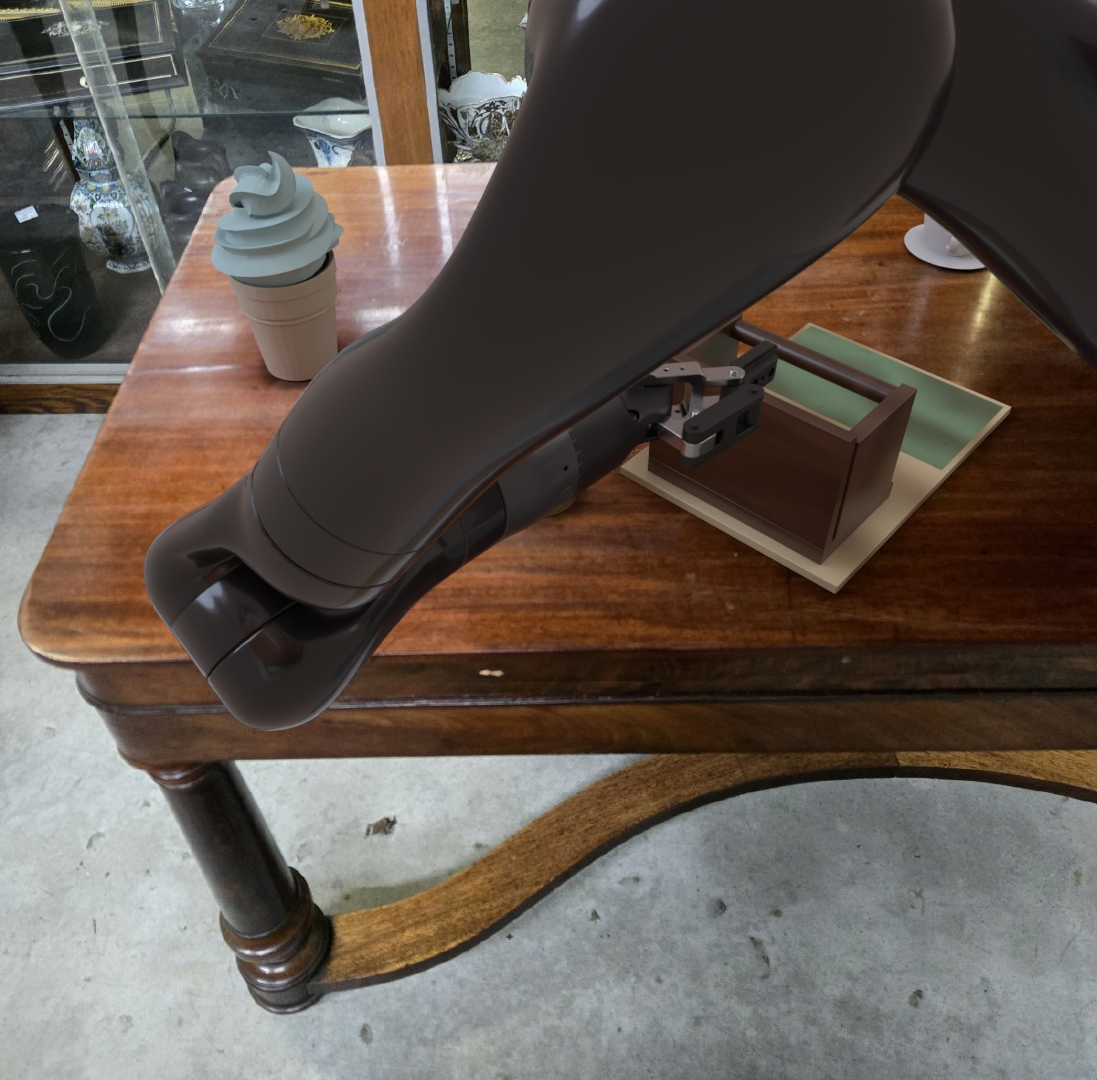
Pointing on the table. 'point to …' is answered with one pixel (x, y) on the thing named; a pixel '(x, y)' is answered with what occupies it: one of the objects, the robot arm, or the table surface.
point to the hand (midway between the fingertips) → (712, 327)
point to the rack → (795, 451)
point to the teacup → (939, 246)
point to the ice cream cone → (282, 266)
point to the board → (927, 449)
